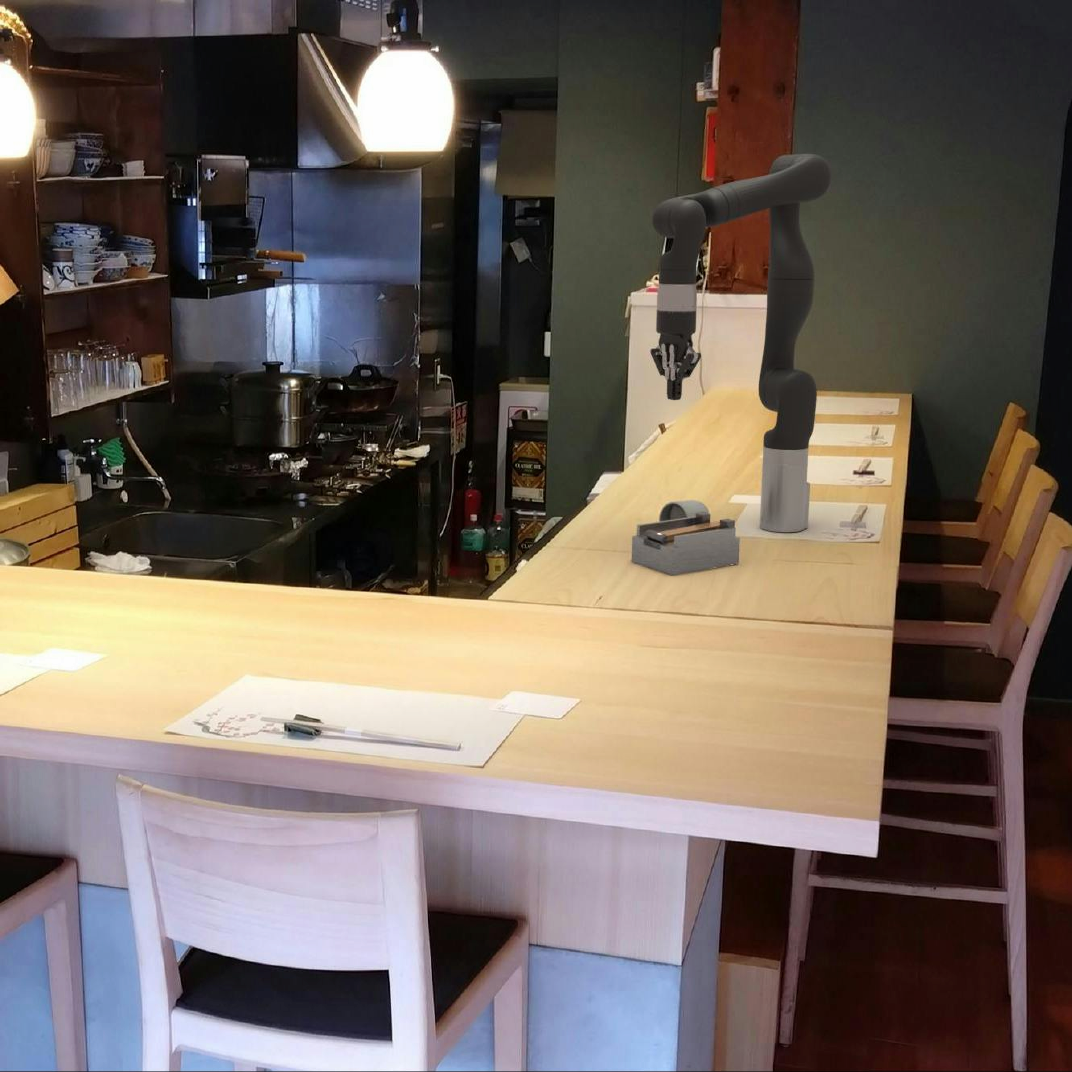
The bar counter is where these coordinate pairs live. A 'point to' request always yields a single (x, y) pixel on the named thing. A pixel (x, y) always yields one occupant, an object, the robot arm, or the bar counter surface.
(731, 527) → the block
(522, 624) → the bar counter surface
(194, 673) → the bar counter surface
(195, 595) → the bar counter surface
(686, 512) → the ceramic mug
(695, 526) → the strap
